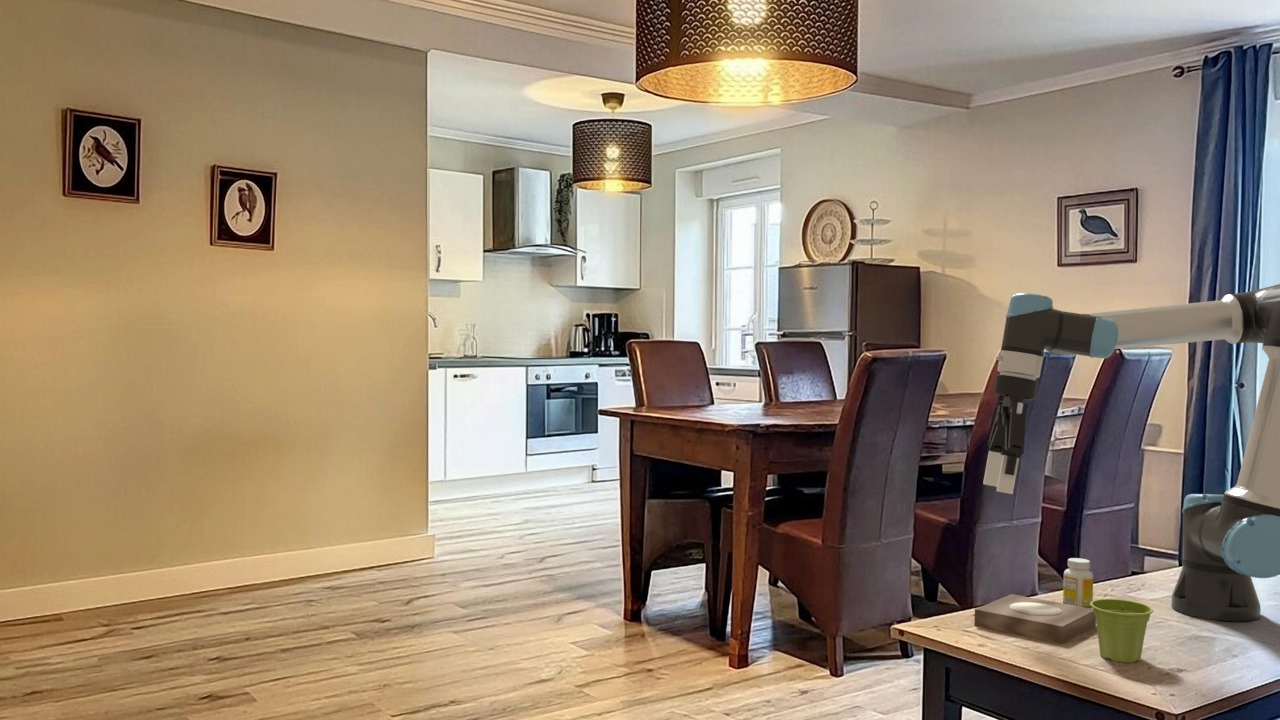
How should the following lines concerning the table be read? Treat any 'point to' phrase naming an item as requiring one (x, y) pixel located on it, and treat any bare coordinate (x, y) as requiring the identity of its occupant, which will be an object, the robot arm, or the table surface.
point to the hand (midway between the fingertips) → (997, 489)
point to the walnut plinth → (1035, 618)
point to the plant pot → (1121, 628)
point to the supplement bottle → (1078, 583)
